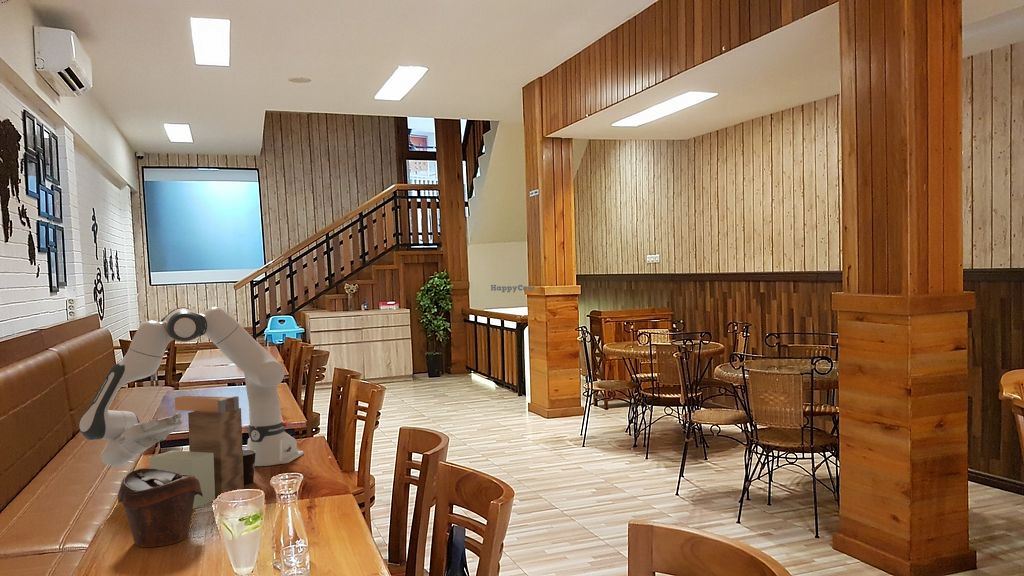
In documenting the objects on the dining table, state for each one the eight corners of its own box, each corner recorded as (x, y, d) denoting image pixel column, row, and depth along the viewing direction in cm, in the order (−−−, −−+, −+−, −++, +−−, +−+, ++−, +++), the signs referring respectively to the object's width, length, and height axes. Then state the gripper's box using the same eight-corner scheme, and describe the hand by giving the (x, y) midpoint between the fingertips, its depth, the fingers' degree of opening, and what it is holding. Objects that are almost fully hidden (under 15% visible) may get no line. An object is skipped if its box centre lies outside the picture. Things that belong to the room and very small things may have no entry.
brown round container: (199, 545, 183) (197, 474, 183) (111, 556, 177) (108, 483, 177) (208, 524, 200) (205, 459, 200) (128, 534, 194) (125, 467, 194)
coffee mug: (247, 486, 235) (246, 456, 235) (223, 486, 237) (222, 455, 237) (266, 477, 246) (265, 447, 246) (243, 476, 248) (242, 447, 248)
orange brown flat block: (189, 406, 238) (188, 394, 238) (238, 408, 232) (238, 396, 232) (170, 411, 231) (169, 398, 231) (221, 413, 224) (221, 400, 224)
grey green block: (173, 496, 227) (172, 450, 227) (215, 499, 222) (213, 452, 221) (150, 505, 218) (149, 457, 218) (193, 509, 213) (191, 460, 213)
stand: (213, 486, 237) (210, 407, 237) (243, 488, 233) (241, 408, 233) (191, 495, 228) (188, 412, 227) (222, 497, 224) (219, 414, 224)
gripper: (109, 435, 231) (137, 415, 227) (159, 422, 251) (186, 403, 247) (118, 453, 230) (146, 433, 226) (167, 438, 250) (194, 419, 246)
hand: (167, 417), depth 237 cm, fingers open, 8 cm apart
